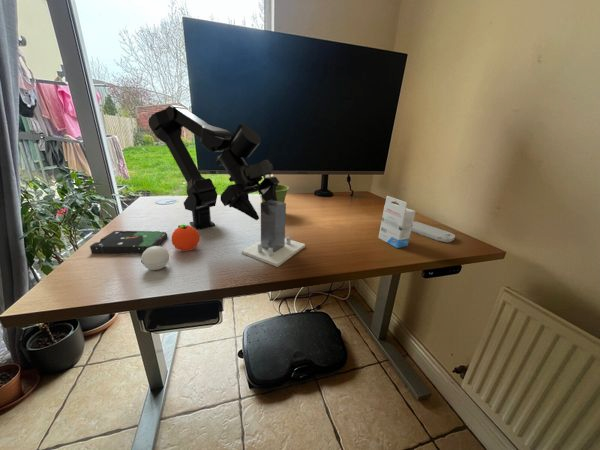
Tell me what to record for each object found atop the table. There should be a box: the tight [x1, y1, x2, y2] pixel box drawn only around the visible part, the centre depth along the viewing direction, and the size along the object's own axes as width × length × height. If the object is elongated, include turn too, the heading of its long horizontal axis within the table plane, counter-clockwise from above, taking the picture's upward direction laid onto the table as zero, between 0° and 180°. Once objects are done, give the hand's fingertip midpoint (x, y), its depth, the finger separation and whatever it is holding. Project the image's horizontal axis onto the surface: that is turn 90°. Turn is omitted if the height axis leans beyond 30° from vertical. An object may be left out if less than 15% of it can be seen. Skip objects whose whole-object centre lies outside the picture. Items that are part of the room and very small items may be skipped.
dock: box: [241, 236, 306, 268], centre depth 68 cm, size 12×14×3 cm
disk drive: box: [89, 230, 169, 255], centre depth 66 cm, size 10×3×15 cm
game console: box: [411, 220, 456, 243], centre depth 87 cm, size 18×2×8 cm
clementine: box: [171, 224, 201, 252], centre depth 65 cm, size 8×7×7 cm
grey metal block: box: [260, 200, 287, 252], centre depth 66 cm, size 5×4×13 cm
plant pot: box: [260, 183, 290, 203], centre depth 95 cm, size 12×12×11 cm
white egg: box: [140, 245, 170, 271], centre depth 55 cm, size 8×6×6 cm
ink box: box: [378, 195, 416, 249], centre depth 76 cm, size 8×5×15 cm, turn 26°
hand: (268, 214), depth 66 cm, fingers open, 9 cm apart
